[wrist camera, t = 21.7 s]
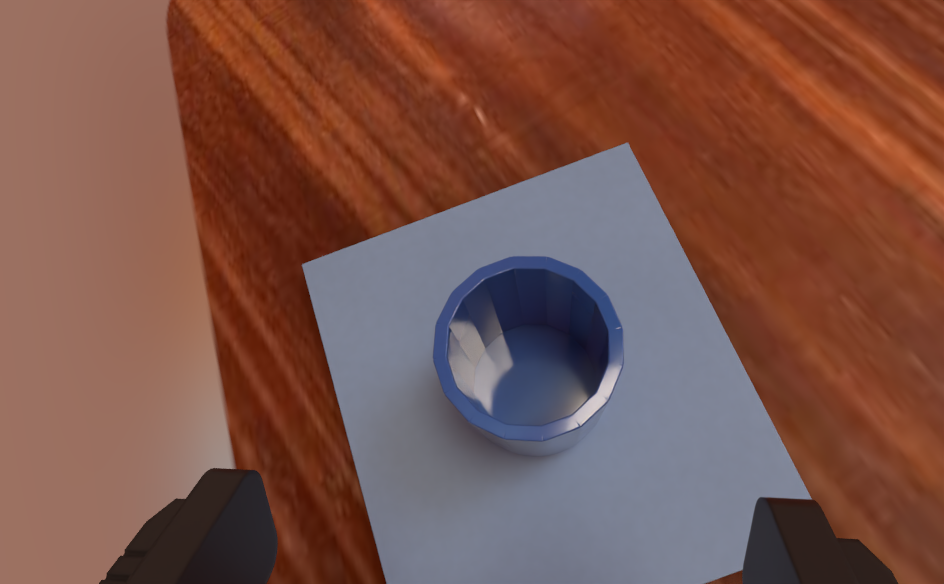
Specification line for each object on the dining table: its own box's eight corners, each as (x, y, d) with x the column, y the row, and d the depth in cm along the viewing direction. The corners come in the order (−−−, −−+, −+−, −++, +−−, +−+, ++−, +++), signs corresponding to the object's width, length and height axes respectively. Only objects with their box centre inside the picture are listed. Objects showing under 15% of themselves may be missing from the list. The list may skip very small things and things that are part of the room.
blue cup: (492, 477, 27) (468, 469, 20) (447, 345, 29) (410, 293, 22) (628, 427, 27) (656, 400, 20) (573, 299, 29) (579, 230, 22)
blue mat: (419, 683, 26) (414, 690, 25) (308, 270, 33) (301, 263, 32) (822, 535, 26) (832, 537, 25) (625, 152, 33) (627, 141, 32)
